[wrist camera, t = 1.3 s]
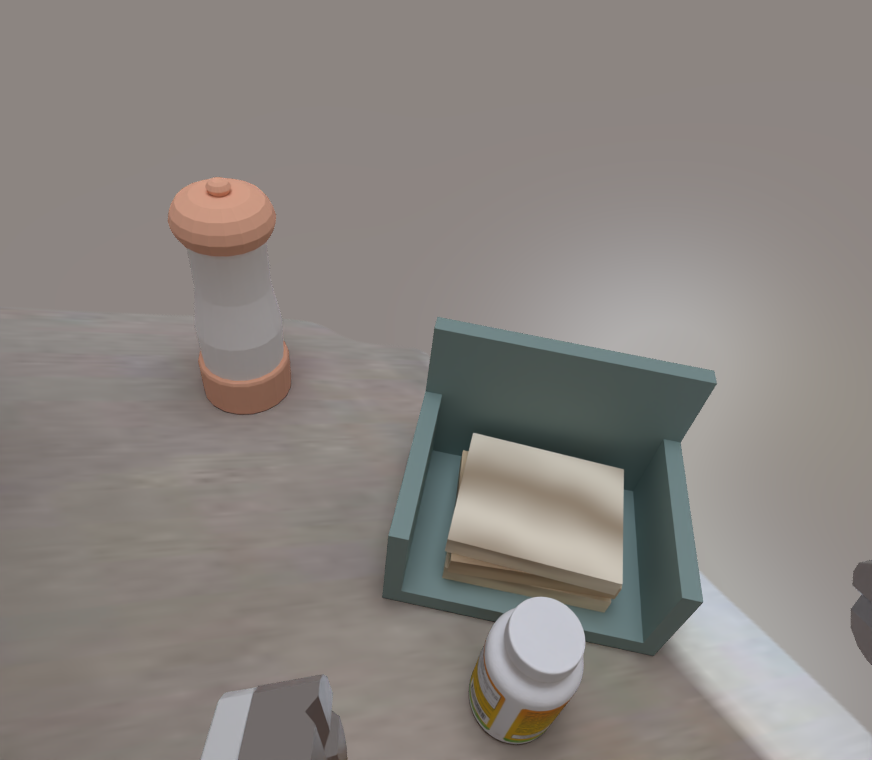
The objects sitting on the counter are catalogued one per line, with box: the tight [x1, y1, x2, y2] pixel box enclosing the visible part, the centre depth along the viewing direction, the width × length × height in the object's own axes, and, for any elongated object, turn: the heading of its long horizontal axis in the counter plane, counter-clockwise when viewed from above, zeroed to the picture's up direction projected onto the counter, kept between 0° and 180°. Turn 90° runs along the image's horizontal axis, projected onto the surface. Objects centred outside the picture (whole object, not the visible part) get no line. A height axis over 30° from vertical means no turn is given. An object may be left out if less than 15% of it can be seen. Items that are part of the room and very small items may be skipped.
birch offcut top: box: [445, 433, 624, 595], centre depth 42 cm, size 9×11×2 cm
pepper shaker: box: [168, 177, 291, 414], centre depth 47 cm, size 7×7×19 cm
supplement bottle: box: [469, 597, 585, 744], centre depth 35 cm, size 5×5×10 cm
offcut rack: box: [382, 317, 717, 656], centre depth 41 cm, size 13×18×14 cm
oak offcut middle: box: [448, 450, 622, 599], centre depth 43 cm, size 9×11×2 cm
